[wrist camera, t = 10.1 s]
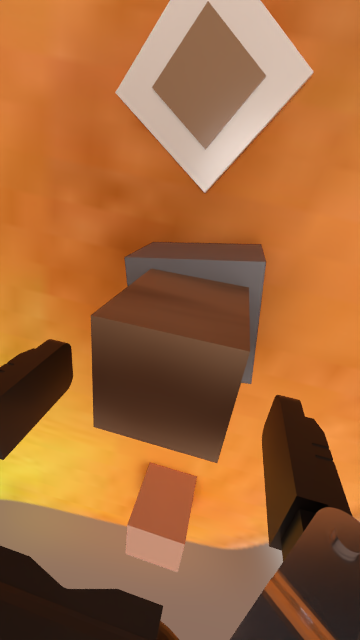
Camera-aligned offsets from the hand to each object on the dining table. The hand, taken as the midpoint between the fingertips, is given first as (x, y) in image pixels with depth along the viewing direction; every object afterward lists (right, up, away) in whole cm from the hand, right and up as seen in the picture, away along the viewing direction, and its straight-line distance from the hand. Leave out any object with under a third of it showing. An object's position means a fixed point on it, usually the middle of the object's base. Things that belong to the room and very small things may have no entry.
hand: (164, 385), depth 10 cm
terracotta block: (0, -15, +18) cm, 24 cm away
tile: (+2, +15, +4) cm, 15 cm away
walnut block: (+1, +2, +4) cm, 5 cm away
